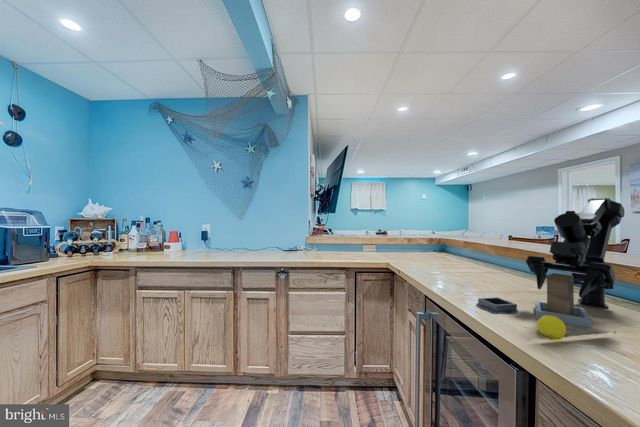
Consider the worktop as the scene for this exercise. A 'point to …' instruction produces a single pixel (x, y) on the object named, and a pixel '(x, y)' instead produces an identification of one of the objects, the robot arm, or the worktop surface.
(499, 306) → the base
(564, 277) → the post
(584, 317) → the tray
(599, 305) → the robot arm
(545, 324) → the lemon
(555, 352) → the worktop surface
